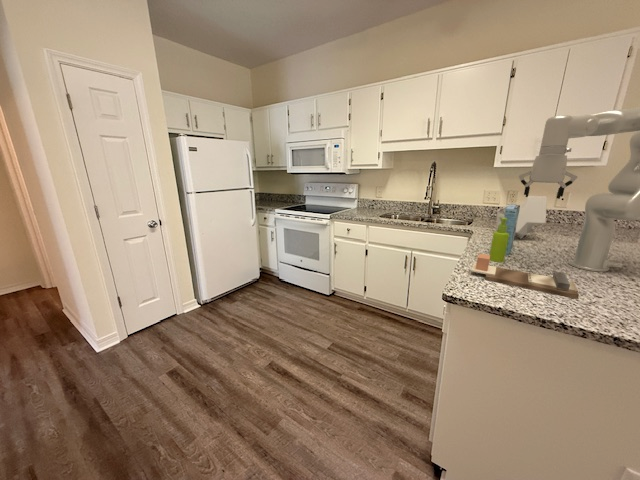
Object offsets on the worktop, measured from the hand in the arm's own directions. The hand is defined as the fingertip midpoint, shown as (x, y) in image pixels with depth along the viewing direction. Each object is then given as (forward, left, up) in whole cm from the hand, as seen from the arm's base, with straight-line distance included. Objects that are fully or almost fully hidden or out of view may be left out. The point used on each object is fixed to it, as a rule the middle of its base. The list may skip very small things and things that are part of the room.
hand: (541, 197), depth 103 cm
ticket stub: (+14, +16, -29) cm, 36 cm away
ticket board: (0, +16, -30) cm, 34 cm away
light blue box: (+8, -28, -31) cm, 42 cm away
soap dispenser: (+11, -7, -31) cm, 33 cm away
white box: (+4, -64, -31) cm, 71 cm away
